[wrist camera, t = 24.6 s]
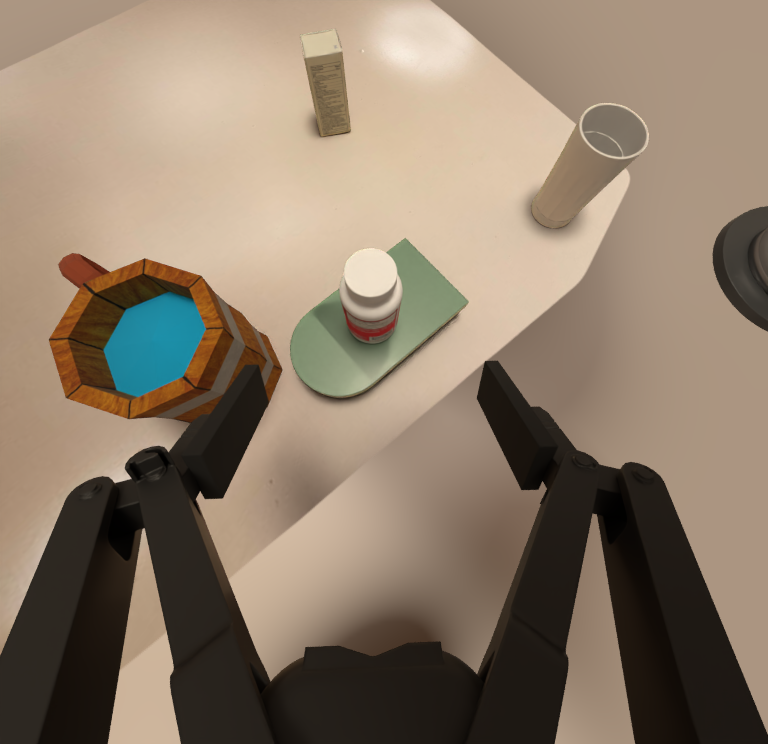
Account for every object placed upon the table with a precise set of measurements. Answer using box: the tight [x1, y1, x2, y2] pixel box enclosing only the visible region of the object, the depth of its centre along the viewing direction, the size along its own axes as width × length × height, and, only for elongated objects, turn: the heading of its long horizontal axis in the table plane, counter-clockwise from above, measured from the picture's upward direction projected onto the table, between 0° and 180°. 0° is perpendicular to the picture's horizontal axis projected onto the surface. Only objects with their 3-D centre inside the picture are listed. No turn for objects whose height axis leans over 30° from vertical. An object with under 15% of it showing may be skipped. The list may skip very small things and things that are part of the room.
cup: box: [531, 103, 649, 228], centre depth 39 cm, size 8×8×12 cm
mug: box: [49, 253, 282, 423], centre depth 31 cm, size 20×14×15 cm
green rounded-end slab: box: [290, 238, 469, 398], centre depth 38 cm, size 22×12×4 cm, turn 131°
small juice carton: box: [300, 29, 351, 136], centre depth 42 cm, size 5×4×10 cm
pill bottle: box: [339, 248, 403, 344], centre depth 30 cm, size 6×6×11 cm
